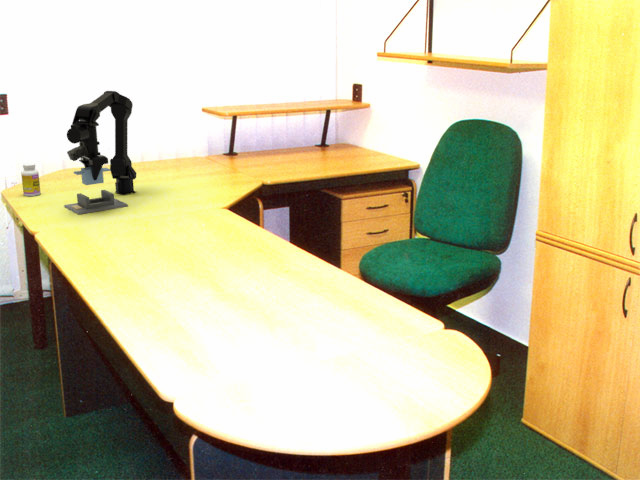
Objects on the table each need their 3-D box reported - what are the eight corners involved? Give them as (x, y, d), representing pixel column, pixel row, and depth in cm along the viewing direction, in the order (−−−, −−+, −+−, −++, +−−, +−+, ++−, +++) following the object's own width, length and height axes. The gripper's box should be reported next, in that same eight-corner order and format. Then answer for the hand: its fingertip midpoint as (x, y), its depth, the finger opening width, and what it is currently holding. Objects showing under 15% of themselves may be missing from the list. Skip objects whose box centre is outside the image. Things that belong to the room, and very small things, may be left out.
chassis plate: (112, 199, 292) (111, 186, 290) (128, 206, 281) (127, 193, 280) (64, 207, 279) (63, 194, 278) (78, 214, 269) (77, 201, 267)
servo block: (106, 179, 283) (105, 165, 281) (111, 181, 280) (109, 166, 278) (74, 184, 275) (73, 169, 273) (78, 186, 272) (77, 170, 270)
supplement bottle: (34, 197, 293) (31, 166, 289) (20, 196, 294) (16, 165, 290) (44, 193, 299) (40, 163, 295) (29, 192, 301) (26, 162, 297)
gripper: (59, 137, 274) (63, 177, 279) (78, 144, 261) (81, 186, 265) (87, 135, 281) (91, 173, 286) (107, 141, 267) (110, 182, 272)
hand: (92, 179), depth 277 cm, fingers closed on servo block, 4 cm apart
